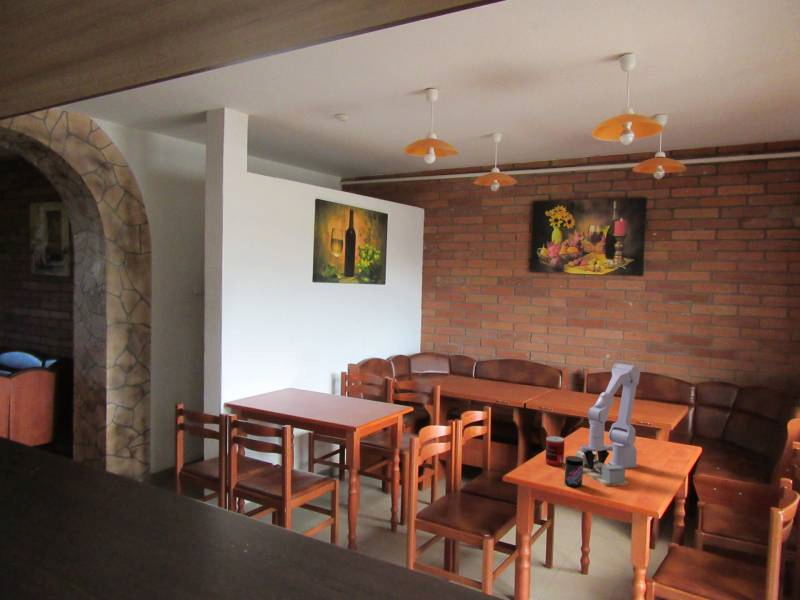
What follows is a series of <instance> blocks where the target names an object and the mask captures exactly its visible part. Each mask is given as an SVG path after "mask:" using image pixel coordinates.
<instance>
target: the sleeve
mask: <svg viewBox="0 0 800 600" xmlns="http://www.w3.org/2000/svg"><path fill="white" fill-rule="evenodd" d="M593 454H595V457H594V459H596V460H598V453H596V452H595V451H593ZM575 456H577V457H581V458H583V467H584V461H585V454H584V453H582V452H580V451H579V450H576V451H575Z"/></svg>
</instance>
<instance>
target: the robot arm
mask: <svg viewBox="0 0 800 600" xmlns="http://www.w3.org/2000/svg"><path fill="white" fill-rule="evenodd" d="M640 377H641V370H640V368H639V367H638V366H637V365H633V364H626V363H625V364H624V363H621V362H616V363H614V365H613V367H612V369H611V378H610V379H609V380H610V381H609V382H608V384H607V387H606V389H605V391H603V392H601V393H600V394H599V397H597V398H598V399H597V400H596V402H595V403H594V405H593V406H592V407H590V408H589V409H588V411H587V413H586V414H587V416H586V417H587V419H588V423H589V441H588V443H589V444H588V445H583V446H579V450H578V451H580V452H582V453H584V454H585V456H586V459H587V462H588V467H589V469H591V470H592V469H593V462H594V457H595V454H593V452H597V453H596V454H597V460H598V461H600V462H601V463H603V464H605V463H606V460H607V458H608V457H609V455H610V452H612V459H611V460H612V461H611V460H610V461H607V463H608V464H609V465H616V464H617V465H619V466H621V467H623V468H625V469H628V468H629V469H630V468H638V465H637V456H638V455H637V453H638V452H637V447H636V446H635V445H634V444H635V443H636V428H635V427H634V426H633V425H632V424H631V422H632V421H631V420H632V414H633V408H634V402H635V397H636V391H637V386H638V385H639V382H640ZM621 386H622V391H621V392H622V393H621V399H620V402H619V403H620V404H619V405H620V406H619V411H618V416H617V421H615V422H614V423H612V424H611V427H610V430H609V432H608V439H609V441H610V442H611V444H612V445H611V444H605V424H606V422H607V420H608V418H609V413H610V408H611V407H612V405H613V403H614V401H615V398H614V396H615V394H616V393H617V391H618V390H619V388H620V387H621Z"/></svg>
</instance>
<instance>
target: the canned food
mask: <svg viewBox="0 0 800 600" xmlns="http://www.w3.org/2000/svg"><path fill="white" fill-rule="evenodd" d="M564 461H565V438H563V437H561V436H554V435H550V436H547V437H546V439H545V463H546V465H549V466H551V467H552V466H553V467H561V466H562V467H563V465H564V464H565V462H564Z"/></svg>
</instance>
